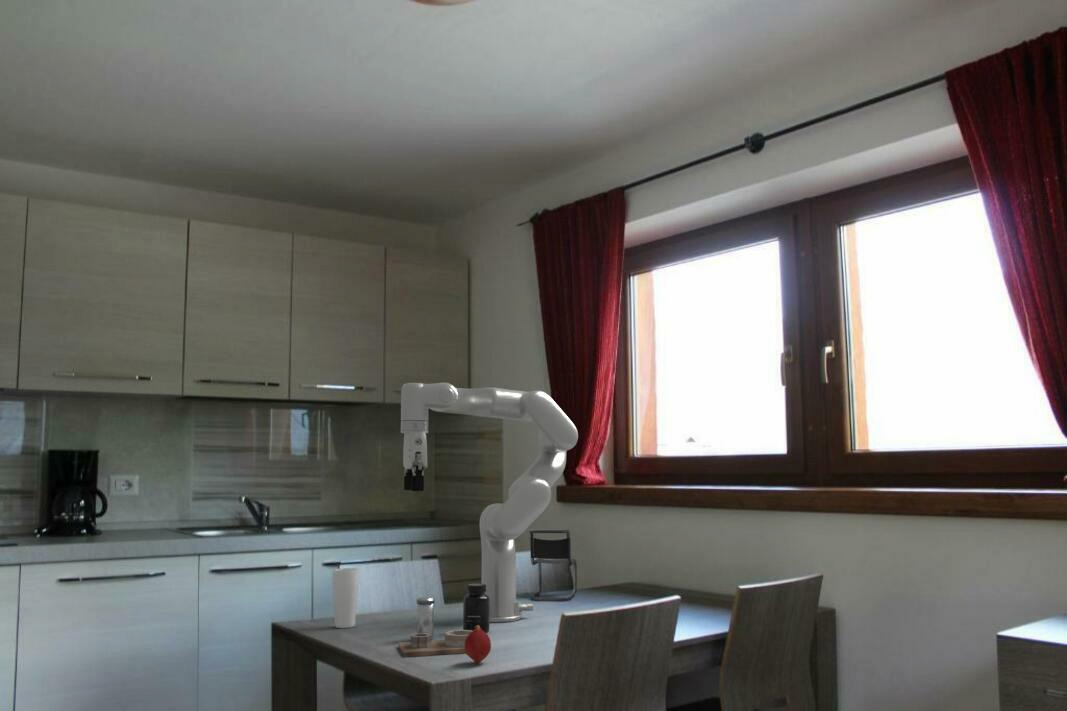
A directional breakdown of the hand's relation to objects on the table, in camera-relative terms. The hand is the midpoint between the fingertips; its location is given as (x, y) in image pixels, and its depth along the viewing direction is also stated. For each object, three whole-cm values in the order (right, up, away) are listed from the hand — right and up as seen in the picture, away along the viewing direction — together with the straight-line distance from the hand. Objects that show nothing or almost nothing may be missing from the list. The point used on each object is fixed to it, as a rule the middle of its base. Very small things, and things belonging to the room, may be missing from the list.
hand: (413, 490), depth 254 cm
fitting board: (+11, -32, -37) cm, 50 cm away
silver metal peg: (+6, -33, -25) cm, 42 cm away
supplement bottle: (+18, -34, -16) cm, 42 cm away
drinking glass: (-17, -36, -7) cm, 40 cm away
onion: (+21, -30, -52) cm, 64 cm away
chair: (+39, -41, +44) cm, 72 cm away
